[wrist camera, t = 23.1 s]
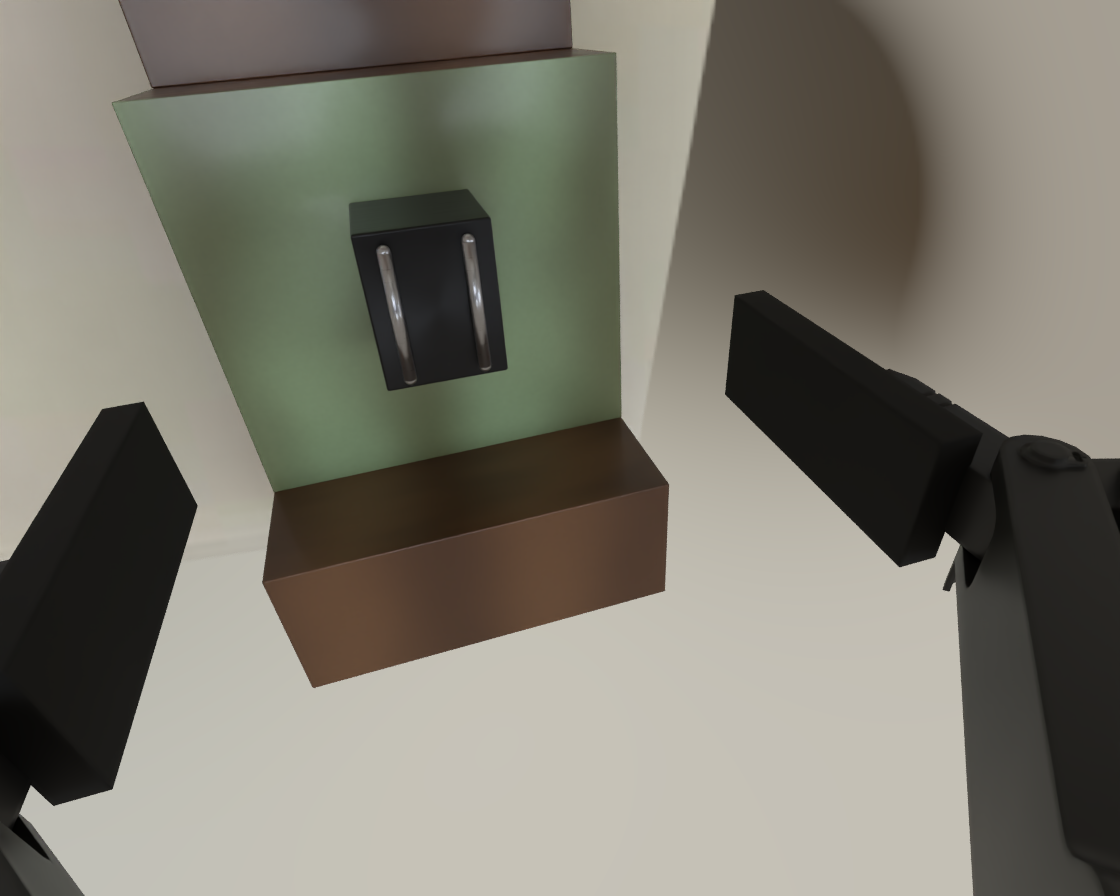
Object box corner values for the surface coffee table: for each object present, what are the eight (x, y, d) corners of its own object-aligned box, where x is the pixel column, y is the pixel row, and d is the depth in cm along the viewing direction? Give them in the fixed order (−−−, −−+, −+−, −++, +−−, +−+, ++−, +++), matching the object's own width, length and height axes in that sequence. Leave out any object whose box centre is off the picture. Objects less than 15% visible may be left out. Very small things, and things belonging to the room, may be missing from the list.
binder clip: (468, 188, 22) (494, 220, 18) (486, 325, 24) (511, 377, 21) (348, 202, 21) (350, 240, 17) (381, 342, 24) (388, 400, 20)
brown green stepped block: (539, -147, 23) (699, -282, 13) (576, 437, 38) (665, 591, 28) (92, -131, 21) (-160, -290, 10) (320, 493, 35) (312, 688, 25)
